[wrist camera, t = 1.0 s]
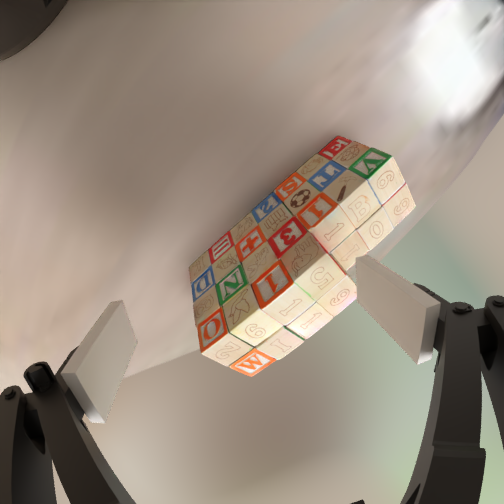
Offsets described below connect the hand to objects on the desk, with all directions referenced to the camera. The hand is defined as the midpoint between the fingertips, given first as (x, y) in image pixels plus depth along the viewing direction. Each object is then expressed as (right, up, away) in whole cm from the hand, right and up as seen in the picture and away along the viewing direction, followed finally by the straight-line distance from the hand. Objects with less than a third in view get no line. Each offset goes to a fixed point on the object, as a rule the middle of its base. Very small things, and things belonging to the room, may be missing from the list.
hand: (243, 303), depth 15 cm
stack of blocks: (+3, +6, +16) cm, 17 cm away
